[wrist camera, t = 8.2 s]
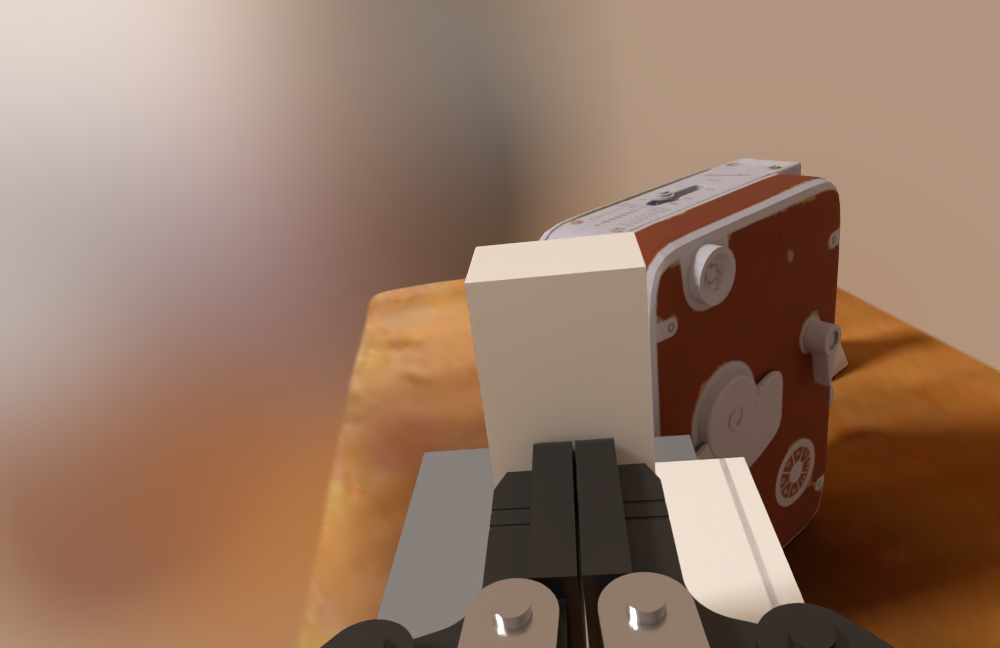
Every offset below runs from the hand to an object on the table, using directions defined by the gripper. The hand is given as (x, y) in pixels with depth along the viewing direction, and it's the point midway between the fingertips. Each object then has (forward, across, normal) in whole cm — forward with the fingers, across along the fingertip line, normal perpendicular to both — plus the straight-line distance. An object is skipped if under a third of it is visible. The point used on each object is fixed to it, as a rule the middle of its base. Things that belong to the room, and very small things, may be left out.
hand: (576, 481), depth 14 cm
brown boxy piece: (+23, -8, +20) cm, 31 cm away
